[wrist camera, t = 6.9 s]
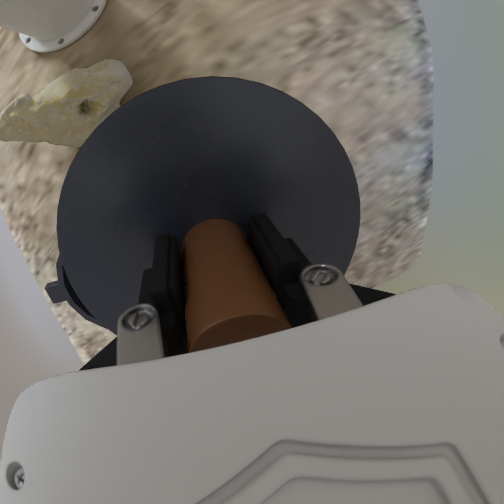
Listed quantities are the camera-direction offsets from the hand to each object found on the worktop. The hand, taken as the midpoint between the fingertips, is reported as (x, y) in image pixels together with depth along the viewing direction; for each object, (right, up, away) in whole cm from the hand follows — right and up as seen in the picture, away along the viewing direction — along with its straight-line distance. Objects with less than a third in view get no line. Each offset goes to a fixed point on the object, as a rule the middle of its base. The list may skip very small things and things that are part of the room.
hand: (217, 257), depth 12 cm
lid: (0, +1, +1) cm, 1 cm away
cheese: (-20, +16, +14) cm, 29 cm away
